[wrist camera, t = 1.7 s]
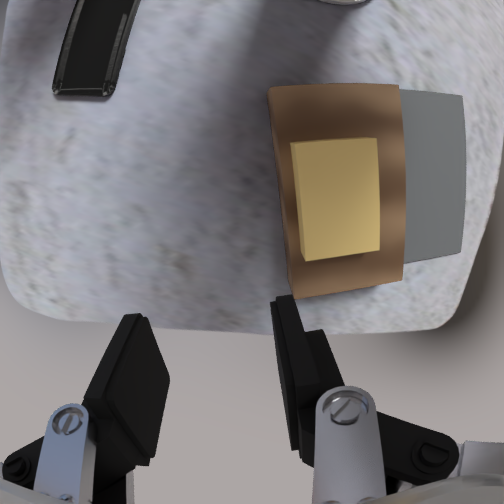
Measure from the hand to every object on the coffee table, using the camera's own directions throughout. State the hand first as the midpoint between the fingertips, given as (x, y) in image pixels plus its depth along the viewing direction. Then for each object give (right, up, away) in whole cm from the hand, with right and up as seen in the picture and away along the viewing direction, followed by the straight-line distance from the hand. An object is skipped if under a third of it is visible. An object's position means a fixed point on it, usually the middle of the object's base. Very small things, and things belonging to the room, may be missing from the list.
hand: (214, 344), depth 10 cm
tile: (+9, +8, +17) cm, 21 cm away
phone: (-15, +26, +13) cm, 33 cm away
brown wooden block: (+10, +10, +21) cm, 25 cm away
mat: (+22, +12, +20) cm, 32 cm away
